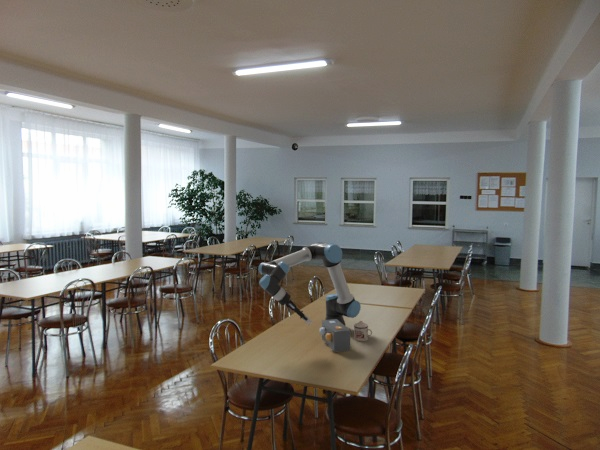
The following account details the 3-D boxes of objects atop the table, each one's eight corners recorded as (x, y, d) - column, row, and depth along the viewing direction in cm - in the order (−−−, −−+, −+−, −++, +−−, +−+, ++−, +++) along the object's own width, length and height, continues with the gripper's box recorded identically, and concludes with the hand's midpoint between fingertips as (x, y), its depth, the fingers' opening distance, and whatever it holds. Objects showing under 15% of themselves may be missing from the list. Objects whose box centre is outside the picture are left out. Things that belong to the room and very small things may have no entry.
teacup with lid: (351, 340, 264) (351, 321, 264) (357, 335, 272) (357, 318, 272) (369, 343, 258) (369, 324, 258) (374, 338, 266) (374, 320, 266)
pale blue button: (324, 333, 264) (324, 326, 263) (327, 335, 259) (327, 328, 259) (319, 333, 263) (319, 326, 263) (321, 335, 259) (321, 328, 258)
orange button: (331, 339, 252) (330, 332, 252) (333, 341, 248) (333, 334, 248) (325, 339, 251) (325, 332, 251) (327, 342, 247) (327, 334, 247)
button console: (336, 337, 270) (336, 318, 269) (350, 350, 247) (350, 329, 246) (321, 338, 267) (321, 319, 267) (334, 352, 244) (334, 331, 243)
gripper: (274, 298, 248) (302, 323, 253) (279, 304, 232) (308, 331, 238) (283, 288, 249) (310, 313, 254) (289, 294, 233) (317, 321, 239)
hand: (309, 322), depth 246 cm, fingers open, 3 cm apart
